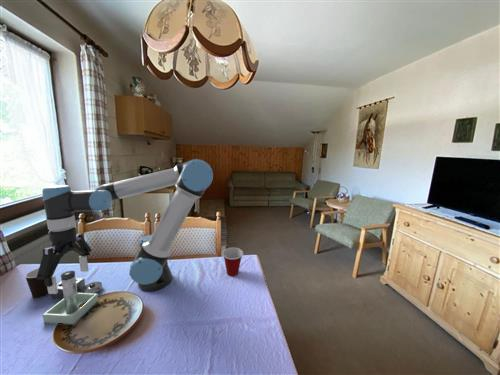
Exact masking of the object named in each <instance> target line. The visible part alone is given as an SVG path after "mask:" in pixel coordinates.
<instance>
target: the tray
mask: <svg viewBox="0 0 500 375" xmlns="http://www.w3.org/2000/svg"><path fill="white" fill-rule="evenodd" d="M87 300H88V301H87ZM78 301H79V305H80V304H82V303H84V302H85V301H87V302H86V303H85V304H84V305H83V306H82V307H80V308H79V309H78V310H77V311H76V312H74V313H71V314H67V313H66V310H65V302H64V299H62V300H60V301H58V302H57V303H56V304H54V305H53V306H52V307H51V308H49V309H48V310H47V311H45V312H44V313H43V314H42V319H43V324H50V325H51V324H52V325H59V324H58V323H63V324H62V325H69V326H71V325H72V326H73V325H75V324H76V323H77V322H79V320H80V319H82V318H83V317H84V316H85V315H86V314H87V313H88V312H89V311H90V310H91V309H92V308H93V307H94V306H95V305H96V304H97V303H98V302H99V293H98V294H95V293H83V292H80V293H78ZM97 301H98V302H97ZM96 302H97V303H96ZM95 303H96V304H95Z"/></svg>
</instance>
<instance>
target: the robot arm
mask: <svg viewBox="0 0 500 375" xmlns="http://www.w3.org/2000/svg"><path fill="white" fill-rule="evenodd" d="M213 178H214V172H213V168H212V167H211V165H210V164H209V163H207V162H206V161H205V160H203V159H200V158H192V159H190V160H188V161H185V162H183V163H179V164H176V165H175V166H174V167H173V168H168V169H164V170H163V169H162V170H160V171H156V172H150V173H148V174H143V175H139V176H135V177H131V178H126V179H123V180H118V181H114V182H110V183H109V182H108V183H102V184H100V185H99V186H96V187H94V188H91V189H88V190H87V189H86V190H72V188H71V186H70V185H67V184H57V185H48V186H45V187H44V188H42V202H43V206H44V211H45V218H46V219H45V220H46V225H47V230H49V231H48V238H49V241H50V242H51V247H44V248H42V257H41V260H40V264H39V267H38V268H39V271H38V274H37V277H36V278H37V279H44V282H45V286H46V287H47V289H48V295H51V294H57V293H58V289H57V277H56V275H54V274H55V272H56V269H57V268H58V265H59V263H60V261H61V259H62V258H63V257H64V255H65V254H67V253H69V252H71V251H74V252H75V253H77V254H78V255H79V256H78V260H79V261H78V262H79V269H80V272H89V265H88V264H89V263H88V262H89V257H88V256H90V255H91V252H92V248H91V246H90V245H89V244H88V242H87V241H86V240H85V238H84V234H83V233H77V226H76V216H75V213H77V212H94V211H95V212H101V211H105V210H107V211H108V210H109V209H110V208H111V206H112V204H113V203H112V202H113V201H118V200H120V199H121V200H122V199H124V198H127V197H128V198H129V197H133V196H137V195H140V194H141V195H142V194H144V193H149V192H152V191H156V190H160V189H161V190H162V189H165V188H168V187H172V186H175V188H176V189H175V192H174V193H173V196H172V198H171V199H170V201H169V202H168V204H167V207H166V208H165V210H164V213H163V214H162V215H161V218H160V220H159V221H158V222H157V225H156V228H155V229H154V231H153V232H152V234H148V235H145V236H142V237H141V238H139V241H138V242H139V243H138V244H139V250H138V251H137V254H136V255H135V257H134V259H133V261H132V263H131V264H130V266H129V277H130V278H131V279H132V281H134V282H135V283H137V287H138V289H139V290H141V291H145V292H152V291H153V292H154V291H157V290H161V289H163V288H165V287H166V286H168V285H170V283H172V279H173V274H172V271H171V269H170V267H169V264H168V260H169V257H170V256H171V254H172V253H171V250H170V248H171V246H172V245H173V243H174V241H175V239H176V237H177V235H178V233H179V231H180V229H181V228H182V226H183V224H184V222H185V220H186V218H187V216H188V215H189V214H190V211H191V210H192V207H193V205H194V204H195V202H196V200H197V199H200V198H202V197H203V195H204V193H205V191H206V190H207V189H208V188H209V187H210V186H211V184H212V182H213V180H214V179H213ZM48 273H49V274H48Z"/></svg>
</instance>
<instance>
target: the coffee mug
mask: <svg viewBox="0 0 500 375" xmlns="http://www.w3.org/2000/svg"><path fill="white" fill-rule="evenodd" d="M38 271H39V267H37V268H35V269H32V270H29V271H28V272H27V273H26V274H25V275H24V277H25V280H26V282H27V286H28V288H29V291H30V293H31V295H32V296H31V297H32V298H33V299H39V298H42V297H46V296H47V295H49V294H48V289H47V287H46V286H45V282H44V279H37V278H36V277H37V274H38ZM48 274H49V273H48Z"/></svg>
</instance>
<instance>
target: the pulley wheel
mask: <svg viewBox="0 0 500 375" xmlns="http://www.w3.org/2000/svg"><path fill="white" fill-rule="evenodd" d="M102 290H103V283H102V282H101V281H93V282H90V283H87V284H85V286H84V287H83V288H82V291H81V292H82V293H95V294H98V295H99V293H101V292H102Z"/></svg>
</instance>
